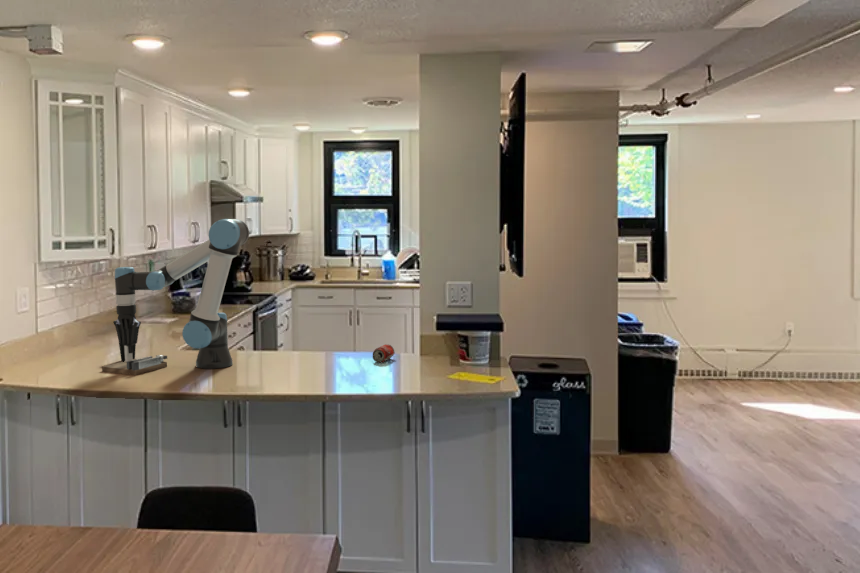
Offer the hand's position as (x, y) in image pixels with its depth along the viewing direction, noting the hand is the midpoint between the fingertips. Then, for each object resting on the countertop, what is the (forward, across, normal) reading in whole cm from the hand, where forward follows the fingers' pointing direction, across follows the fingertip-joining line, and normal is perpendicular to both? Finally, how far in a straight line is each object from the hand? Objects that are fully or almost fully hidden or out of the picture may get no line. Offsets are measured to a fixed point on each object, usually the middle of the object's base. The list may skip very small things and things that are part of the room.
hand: (128, 360), depth 314 cm
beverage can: (+6, -88, -60) cm, 106 cm away
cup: (+4, +18, -17) cm, 25 cm away
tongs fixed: (+2, -7, -4) cm, 8 cm away
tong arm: (+2, -5, -1) cm, 5 cm away
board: (+4, +1, -4) cm, 6 cm away
